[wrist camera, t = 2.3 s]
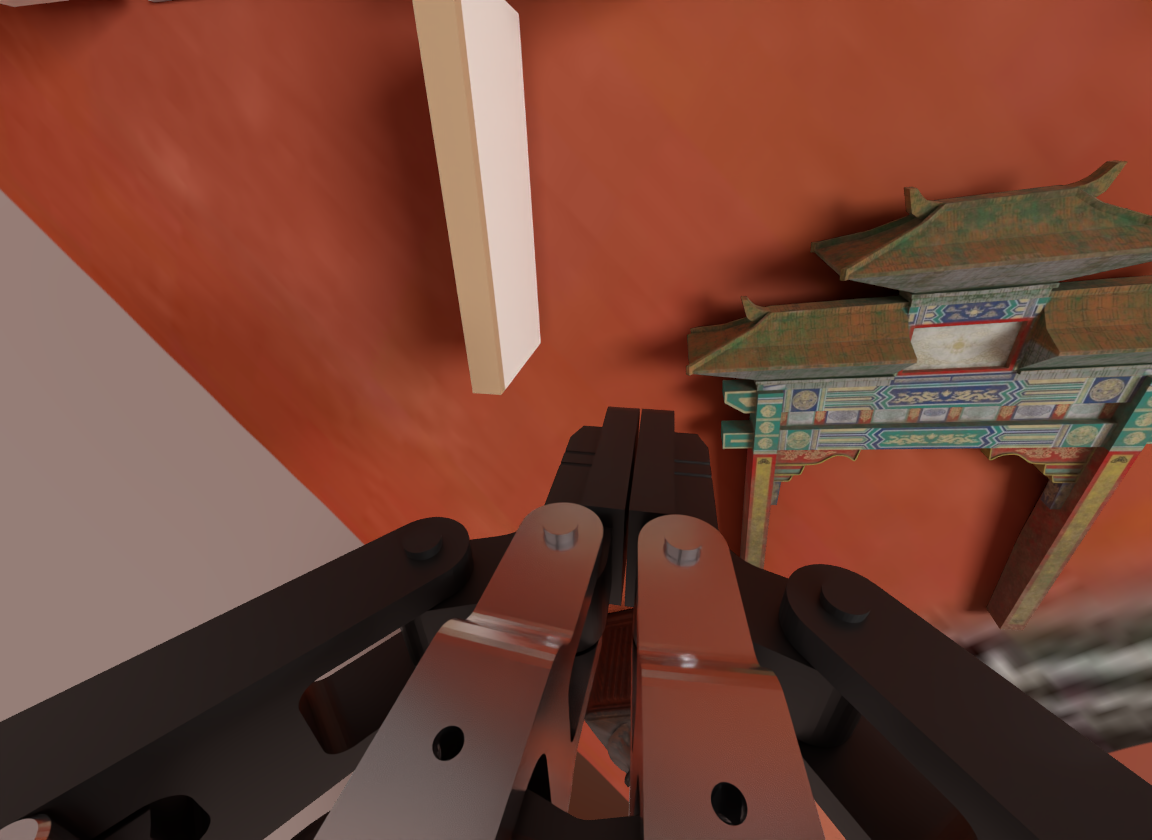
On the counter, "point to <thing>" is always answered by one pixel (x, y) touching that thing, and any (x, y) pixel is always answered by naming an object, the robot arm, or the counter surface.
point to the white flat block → (483, 178)
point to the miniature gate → (959, 360)
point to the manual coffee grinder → (613, 690)
